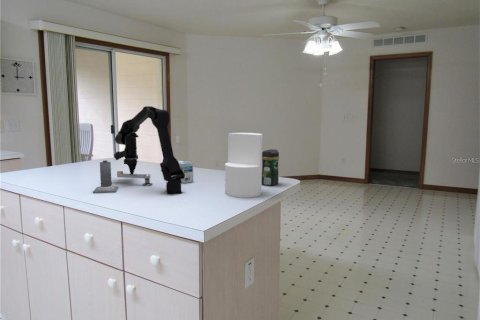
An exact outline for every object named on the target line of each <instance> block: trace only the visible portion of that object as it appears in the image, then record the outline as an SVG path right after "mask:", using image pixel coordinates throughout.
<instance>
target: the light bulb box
mask: <svg viewBox="0 0 480 320" xmlns="http://www.w3.org/2000/svg"><path fill="white" fill-rule="evenodd" d="M177 161H178V162H179V165H180V168H181V169H182V171H183V173H184V174H185V177H184V179H181V184H188V183H193V182H194V162H192V161H191V162H190V161H185V160H177ZM174 176H176V175H174Z"/></svg>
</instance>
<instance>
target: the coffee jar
mask: <svg viewBox="0 0 480 320" xmlns="http://www.w3.org/2000/svg"><path fill="white" fill-rule="evenodd" d="M279 154H280V152H279V150H278V149H271V148H270V149H267V150H262V182H261V185H264V186H266V187H268V186H276V185H278V184H279V160H280V159H279V158H280V155H279Z"/></svg>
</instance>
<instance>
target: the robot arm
mask: <svg viewBox="0 0 480 320" xmlns="http://www.w3.org/2000/svg"><path fill="white" fill-rule="evenodd" d="M147 119H150V120H151V123H152V125H153V126H154V128H156V129H157V130H156V131H157V135H158V139H159V145H160V149H161V155H162V158H163V159H162V162H160V163H159V166H160V170H161V171H160V172H161V174H162V177H163V181H165V182H166V183H165V188H166V189H165V191H166V194H167V195H172V194H173V195H175V194H176V195H177V194H182V193H183V192H182V183H181V179H184V177H185V174H184V173H183V171H182V169H181V168H180V165H179V162H178V161H179V160H178V159H177V158H176V157H175V156H174V150H173V147H172V142H171V137H170V132H169V128H168V127H169V124H170V114H169V111H168V110H167V109H160V108H158V107H154V106H153V105H152V106H150V105H147V106H146V105H145V106H143V107H142V109H141V110H140V111H139V112H138V113H137V114H136V115H135V116H133V117H132V118H130V119H126V121H123V123H122V125H121V127H120V128H119V129H120V130H118V131H117V134H116V135H115V136H114V137H115V138H114V141H115V143H116V144H117V145H123V146H124V149H123V150H121V151H115V153H114V154H113V157H114V158H115V161H118V160H120V159H123V158H124V159H123V164H124V165H127V166H128V170H129V174H135V171H136V167H137V164H138V159H139V155H138V152H137V151H138V150H137V149H138V147H137V138H139V135H138V134H137V132H138V131H139V130H140V127H141V125H142V124H143V123H144V122H145V121H147ZM174 175H176V176H174Z"/></svg>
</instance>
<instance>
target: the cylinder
mask: <svg viewBox="0 0 480 320" xmlns="http://www.w3.org/2000/svg"><path fill="white" fill-rule="evenodd" d="M227 136H228V137H227V139H228V140H227V162H225V163H224V194H225V195H226V196H229V197H233V198H254V197H256V198H257V197H258V196H261V195H262V183H261V182H262V152H263V137H264V136H263V133H257V132H256V133H255V132H229V133H227Z"/></svg>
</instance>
